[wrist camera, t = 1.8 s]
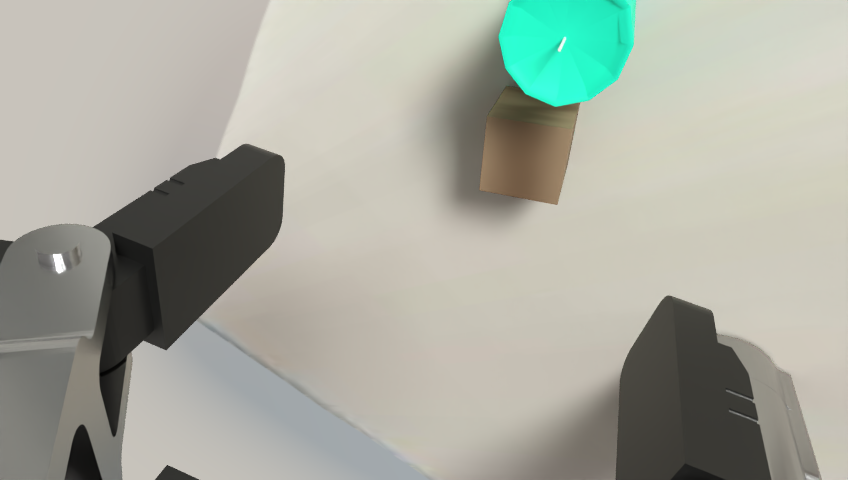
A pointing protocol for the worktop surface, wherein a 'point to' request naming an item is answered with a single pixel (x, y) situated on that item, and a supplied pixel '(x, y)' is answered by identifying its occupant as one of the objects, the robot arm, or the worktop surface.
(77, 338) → the robot arm
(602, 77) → the candle
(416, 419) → the worktop surface
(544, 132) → the walnut block
